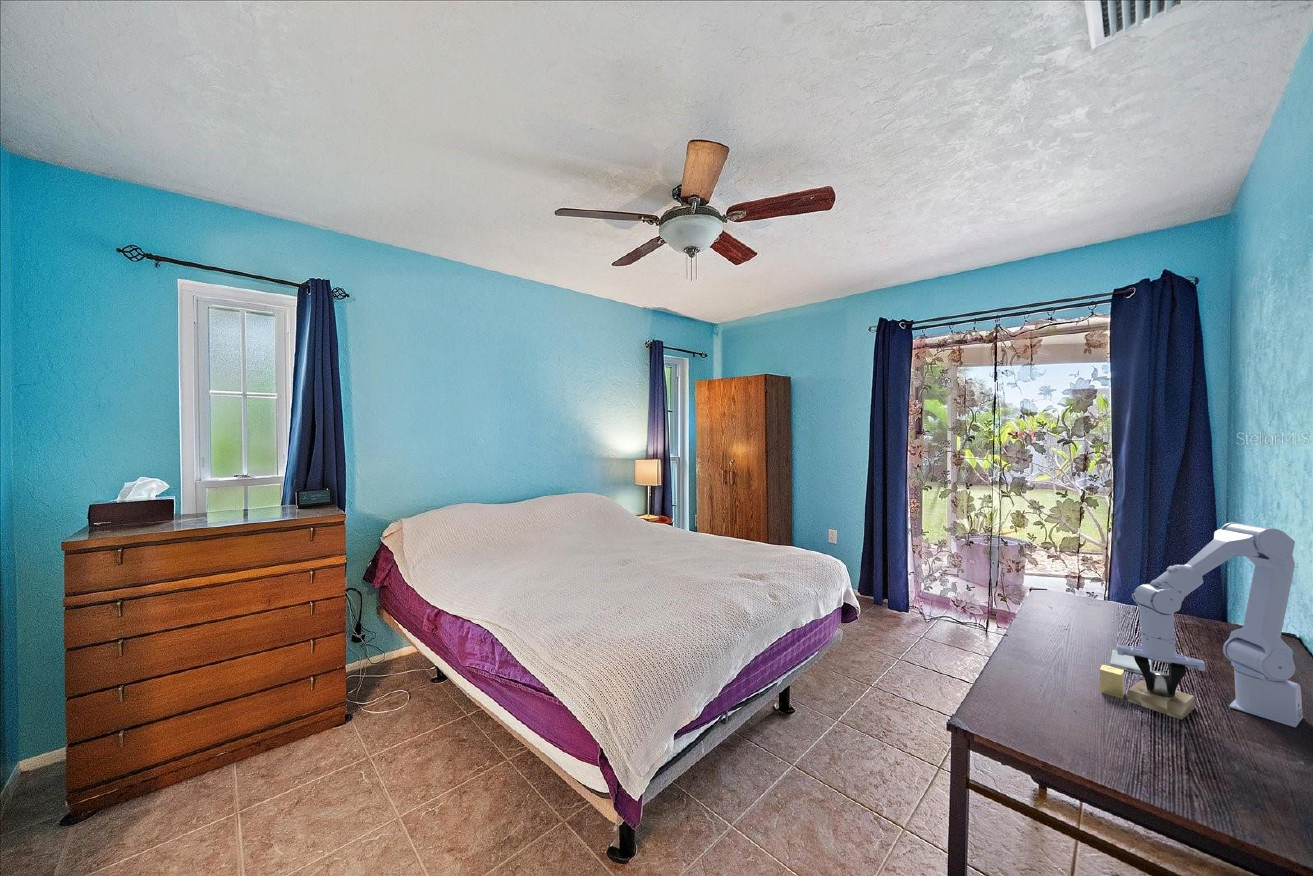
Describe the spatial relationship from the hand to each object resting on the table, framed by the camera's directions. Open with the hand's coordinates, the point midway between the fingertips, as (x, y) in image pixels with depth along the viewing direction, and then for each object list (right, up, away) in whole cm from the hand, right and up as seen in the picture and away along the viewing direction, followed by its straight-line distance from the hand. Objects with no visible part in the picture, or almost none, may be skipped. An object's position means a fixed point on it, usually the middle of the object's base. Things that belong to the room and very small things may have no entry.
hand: (1160, 691), depth 113 cm
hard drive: (+14, -4, +20) cm, 25 cm away
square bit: (-6, -4, +6) cm, 9 cm away
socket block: (0, -3, 0) cm, 3 cm away
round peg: (0, -2, 0) cm, 2 cm away
